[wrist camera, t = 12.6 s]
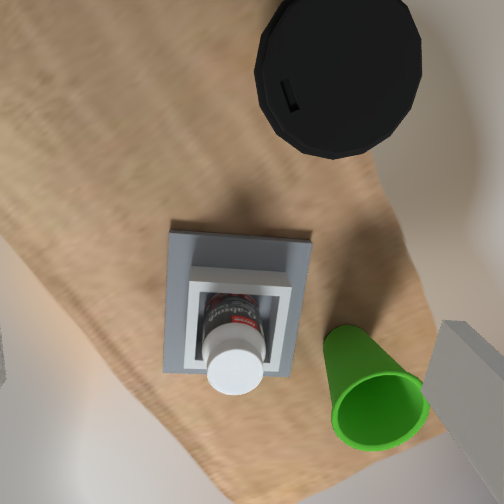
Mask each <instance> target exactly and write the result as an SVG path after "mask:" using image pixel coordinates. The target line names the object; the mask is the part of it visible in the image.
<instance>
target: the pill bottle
mask: <svg viewBox="0 0 504 504" xmlns="http://www.w3.org/2000/svg"><path fill="white" fill-rule="evenodd" d="M265 355H266V344H265V339H264V333H263V329H262V323H261V318H260V313H259V308H258V306H257V303H256V302H255V300H254V299H253V298H252V297H251V296H250V295H248V294H233V293H218V294H216V295H215V296H213V297H212V298H211V299H210V300H209V302H208V303H207V305H206V307H205V310H204V321H203V340H202V356H203V360H204V363H205V365H206V366H207V377H208V380H209V382H210V384H211V385H212V386H213V387H214V388H215V389H216V390H218V391H219V392H221V393H224V394H228V395H240V394H244V393H247V392H249V391H251V390H252V389H254V388H255V387H256V386H257V385H258V384H259V383H260V381H261V379H262V377H263V371H264V369H263V361H264V359H265Z"/></svg>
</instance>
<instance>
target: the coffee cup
mask: <svg viewBox="0 0 504 504" xmlns="http://www.w3.org/2000/svg"><path fill="white" fill-rule="evenodd" d="M421 54H422V50H421V38H420V35H419V33H418V30H417V28H416V25H415V23H414V21H413V19H412V16H411V14H410V11H409V9H408V7H407V5H406V4H404V3H403V2H402V1H401V0H284V1H283V2H282V3H281V4H280V6H279V8H278V9H277V11H276V12H275V14H274V15H273V17H272V19H271V20H270V22H269V23H268V25H267V27H266V28H265V30H264V31H263V33H262V35H261V38H260V43H259V48H258V53H257V58H256V63H255V68H254V75H255V82H256V88H257V94H258V100H259V106H260V108H261V110H262V111H263V113H264V115H265V116H266V118H267V120H268V121H269V123H270V125H271V126H272V128H273V130H274V131H275V133H276V134H277V135H278V136H279V137H281V138H282V139H283V140H285V141H286V142H288V143H289V144H290V145H292V146H293V147H295V148H296V149H297V150H299V151H300V152H301V153H303V154H308V155H313V156H317V157H322V158H327V159H332V160H334V159H339V158H344V157H349V156H354V155H359V154H363V153H365V152H366V151H368V150H370V149H371V148H373V147H374V146H376V145H377V144H379V143H380V142H382V141H383V140H385V139H387V138H388V137H390V136H391V134H392V133H393V132H394V131H395V129H396V128H397V127H398V125H399V124H400V123H401V121H402V120H403V119H404V117H405V116H406V115H407V113H408V112H409V111H410V110H411V107H412V104H413V101H414V98H415V95H416V92H417V89H418V86H419V83H420V80H421V77H422V55H421Z"/></svg>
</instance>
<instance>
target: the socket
mask: <svg viewBox="0 0 504 504" xmlns="http://www.w3.org/2000/svg"><path fill="white" fill-rule="evenodd" d="M311 249H312V242H311V241H310V240H301V239H288V238H275V237H261V236H248V235H235V234H222V233H208V232H195V231H182V230H170V231H169V247H168V269H167V292H166V315H165V338H164V360H163V373H183V374H207V366H206V365H205V363H204V360H203V356H202V340H203V321H204V310H205V307H206V305H207V303H208V302H209V300H210V299H211V298H212V297H213V296H215V295H216V294H218V293H233V294H248V295H250V296H251V297H252V298H253V299H254V300H255V302H256V303H257V306H258V308H259V313H260V318H261V323H262V329H263V333H264V339H265V344H266V355H265V359H264V361H263V369H264V371H263V376H274V377H290V372H291V366H292V360H293V354H294V348H295V343H296V337H297V331H298V325H299V319H300V313H301V308H302V302H303V296H304V290H305V284H306V279H307V273H308V267H309V261H310V255H311Z"/></svg>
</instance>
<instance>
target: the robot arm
mask: <svg viewBox="0 0 504 504" xmlns="http://www.w3.org/2000/svg"><path fill="white" fill-rule="evenodd" d="M5 380H6V373H5V363H4V355H3V346H2V337H1V328H0V387H1V386H2V385H3V383H4V382H5ZM421 393H422V394H423V396H424V397H425V399H426V400H427V402H428V403H429V404H430V406H431V407H432V409H433V410H434V412H435V413H436V414H437V416H438V417H439V419H440V420H441V422H442V423H443V425H444V426H445V427H446V429H447V430H448V432H449V433H450V435H451V436H452V437H453V439H454V440H455V442H456V443H457V444H458V446H459V448H460V449H461V450H462V452H463V453H464V455H465V456H466V458H467V459H468V460H469V462H470V463H471V465H472V466H473V468H474V469H475V471H476V472H477V473H478V474H479V476H480V478H481V479H482V481H483V482H484V483H485V485H486V486H487V488H488V489H489V491H490V492H491V494H492V495H493V496H494V498H495V499H496V501H497V502H498V503H499V504H504V356H503V355H502V354H500V353H499V352H498V351H497V350H496V349H495V348H494V347H493V346H492V345H491V344H490V343H488V342H487V341H486V340H485V339H484V338H483V337H482V336H481V335H480V334H479V333H477V332H476V331H475V330H474V329H473V328H472V327H471V326H470V325H469V324H468V323H466V322H465V321H451V320H442V323H441V327H440V330H439V333H438V336H437V340H436V343H435V346H434V349H433V353H432V356H431V359H430V362H429V366H428V369H427V372H426V375H425V379H424V382H423V385H422V388H421Z"/></svg>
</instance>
